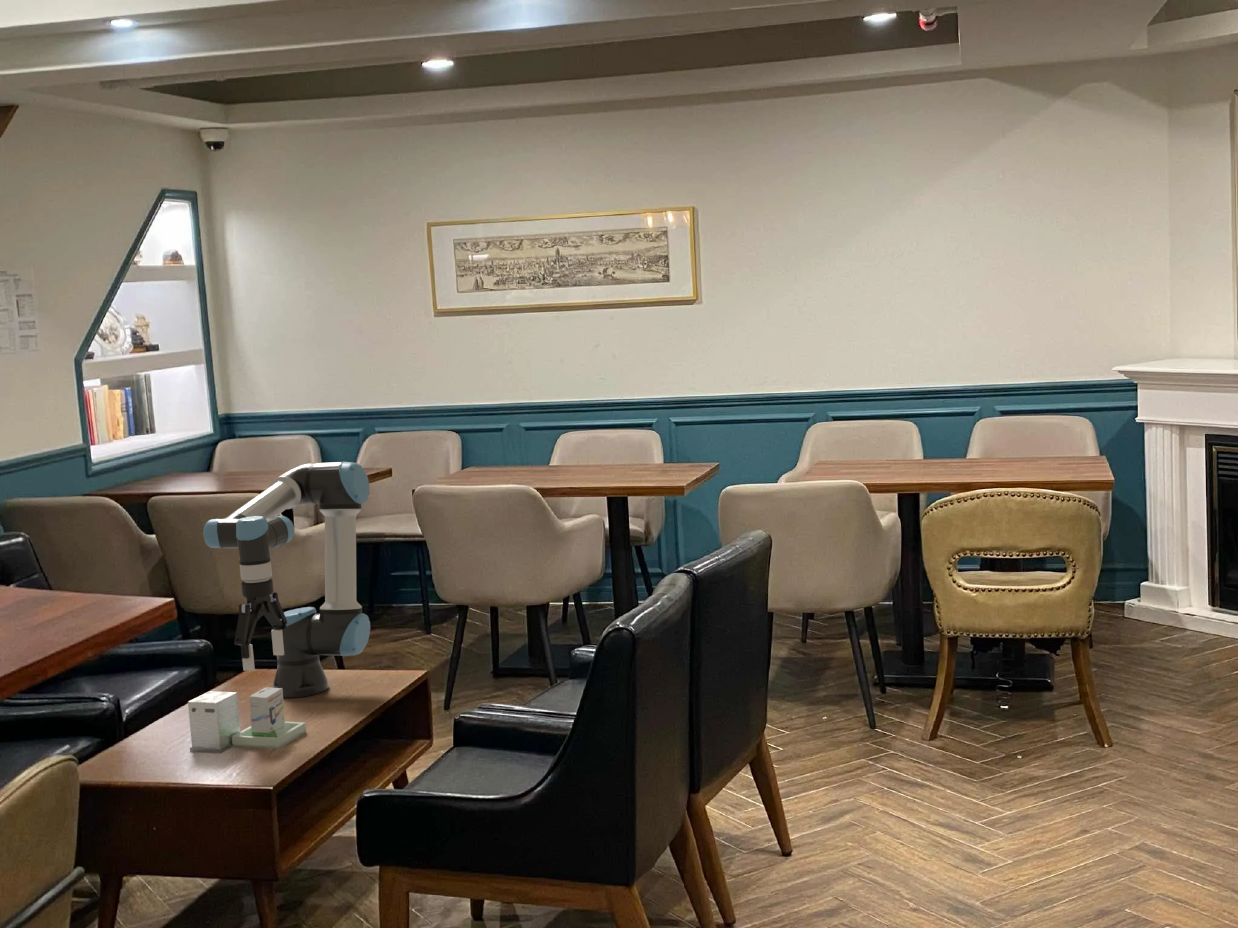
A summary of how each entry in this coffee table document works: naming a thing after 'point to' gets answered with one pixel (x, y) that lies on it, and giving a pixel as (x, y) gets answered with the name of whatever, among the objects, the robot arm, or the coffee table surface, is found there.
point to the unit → (213, 721)
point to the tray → (249, 741)
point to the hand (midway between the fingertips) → (264, 662)
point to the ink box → (267, 712)
